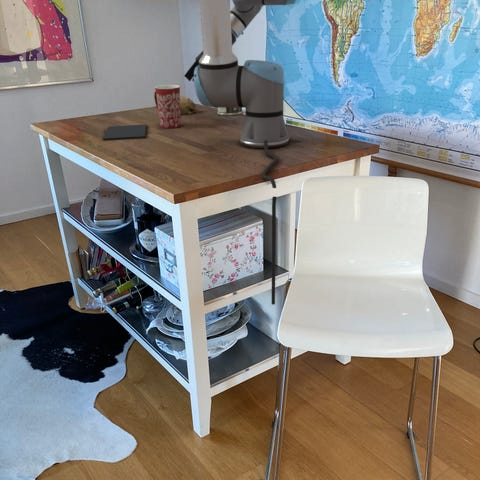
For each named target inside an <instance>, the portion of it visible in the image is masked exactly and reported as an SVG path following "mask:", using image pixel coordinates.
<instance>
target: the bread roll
mask: <svg viewBox="0 0 480 480" xmlns="http://www.w3.org/2000/svg"><path fill="white" fill-rule="evenodd" d="M196 111H197V110H196V104H195V102H194V101H193V100H192V99H191V98H190V97H187V96H183V95H181V96H180V116H181V115H191V114H193V113H195V112H196Z"/></svg>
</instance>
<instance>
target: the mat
mask: <svg viewBox="0 0 480 480" xmlns="http://www.w3.org/2000/svg"><path fill="white" fill-rule="evenodd" d="M147 127H148V124H130V125H112V126H107V128H106V130H105V132H104V135H103V137H102V140H103V141H113V140H117V141H118V140H134V139H145V138H146V134H147Z"/></svg>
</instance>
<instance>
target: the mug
mask: <svg viewBox="0 0 480 480" xmlns="http://www.w3.org/2000/svg"><path fill="white" fill-rule="evenodd" d="M154 90H155V91H154V93H153V97H154V98H153V99H154V102H155V106H156V109H157V112H158V116H159V124H160V127H161V128H163V129H176V128H179V127H181V122H182V121H181V115H180V97H181V86H180V85H178V84H163V85H162V84H161V85H156V86H154Z"/></svg>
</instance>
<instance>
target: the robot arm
mask: <svg viewBox="0 0 480 480" xmlns="http://www.w3.org/2000/svg"><path fill="white" fill-rule="evenodd" d="M230 1H232V3H233V7H232V8H231V2H230ZM297 1H298V0H198V6H199V17H200V28H201V29H200V30H201V31H200V32H201V41H202V42H201V43H202V51H201V52H199V54H198V55H197V56H196V57H195V59H194V60H195V61H194V62H193V64H192V65H191V66H190V67H189V68H188V70H187V71H186V73H185V74H184V75H183V76H184V77H185V78H186V79H187V81H189V82H191V81H192V82H193V85H194V91H195V94H196V97H197V99H198V101H199V102H200V104H201V105H202V106H203V107H206V108H214V109H217V108H218V107H237V108H242V109H244V108H245V120H244V123H243V127H242V130H241V133H240V139H239V140H240V145H241V146H243V147H246V148H251V149H264V153H265V155H266V156H268V157H269V158H271V159H273V160H272V161H271V162H270V163H269V164H268V165H267V166H266V167H265V168H264V170H263V171H262V173H261V178H262V179H263V180H265V181H269V182H270V183H271V187H272V189H277V183H276V180H275V179H274V178H273V177H272V176H270V175H266V174H267V173H268V172H269V171H270V170H271V168H272V167H274V166H275V165H276V164H277V163H278V159H279V158H278V156H277V155H276V154H273V153H271V152H270V151H269V149H275V148H276V149H277V148H282V147H285V146H287V145H288V144H289V141H290V137H289V132H288V129H287V125H286V122H285V119H284V99H285V97H284V96H285V95H284V94H285V71H284V68H283V66H282V65H281V64H279V63H277V62H273V61H269V60H268V61H267V60H259V59H247V60H245V61H244V63H243V65H239V58H238V56H237V55H236V54H235V53H234V52H233V46H234V44H235V43H236V42H237V39H239V38H240V36H243V35H244V34H245V32H244V31H245V30H246V29H247V27H248V26H249V25H250V24H251V22H253V20H254V19H255V17H256V16H257V15H258V14H259V13H260V12H261V10H262V9H263V8H264V6H289V5H290V6H291V5H294V4H296V3H297ZM271 199H272V201H271V305H273V306H274V305H276V260H277V259H276V256H277V255H276V253H277V250H276V249H277V248H276V247H277V246H276V245H277V229H276V228H277V196H272V198H271Z"/></svg>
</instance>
